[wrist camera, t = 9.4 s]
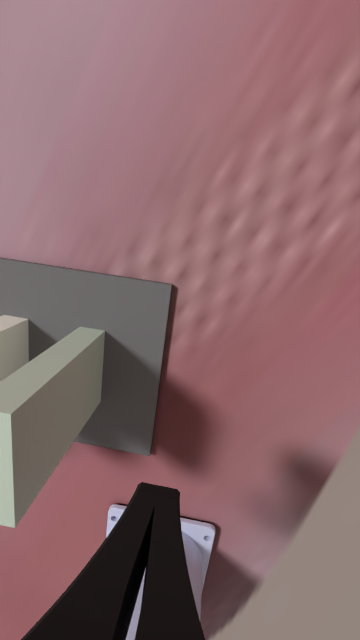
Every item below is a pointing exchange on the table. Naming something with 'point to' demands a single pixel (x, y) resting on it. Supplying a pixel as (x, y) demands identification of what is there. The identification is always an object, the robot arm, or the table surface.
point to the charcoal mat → (119, 345)
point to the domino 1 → (13, 344)
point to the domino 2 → (45, 415)
